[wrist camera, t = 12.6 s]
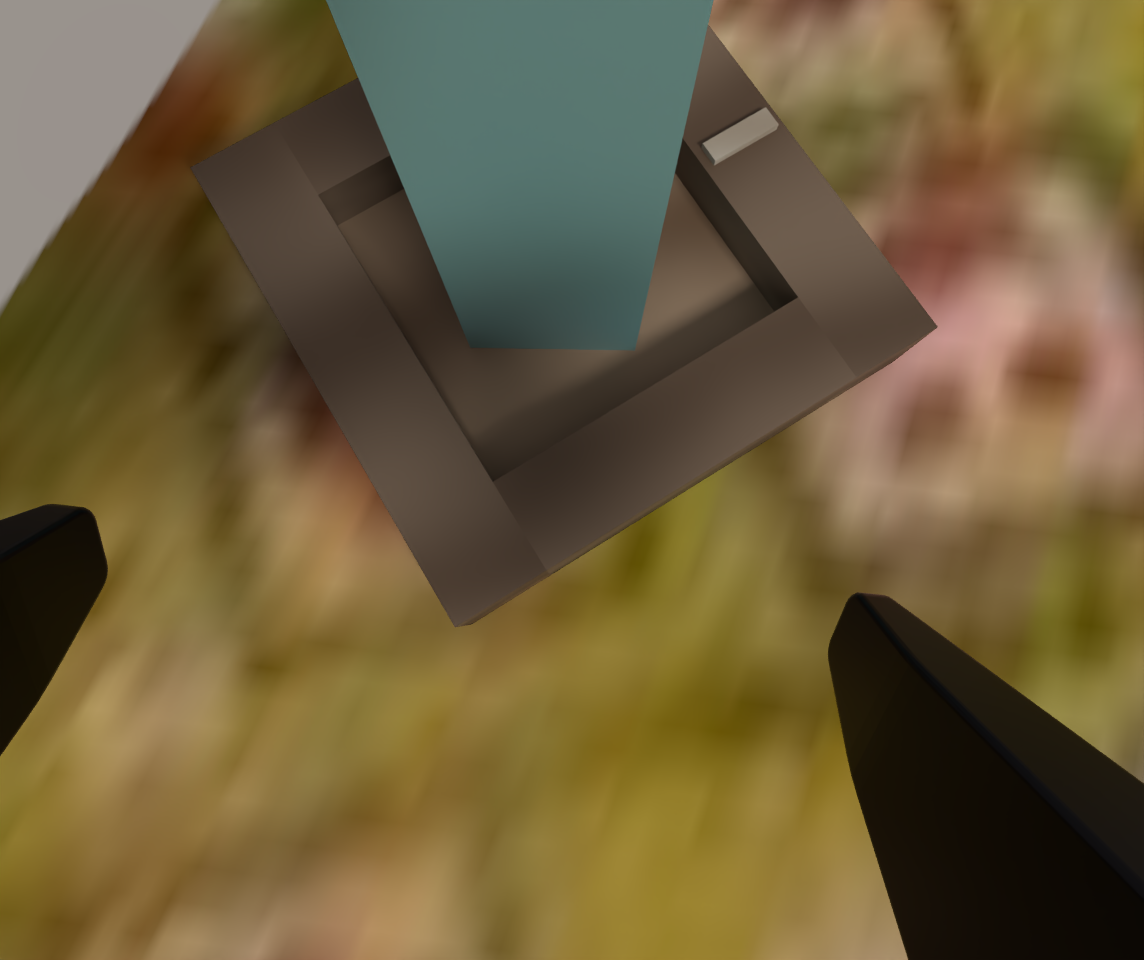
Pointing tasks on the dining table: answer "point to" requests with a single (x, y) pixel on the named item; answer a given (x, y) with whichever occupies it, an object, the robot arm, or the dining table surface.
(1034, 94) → the dining table surface
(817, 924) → the dining table surface
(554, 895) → the dining table surface
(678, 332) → the brown square tray
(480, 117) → the handle
